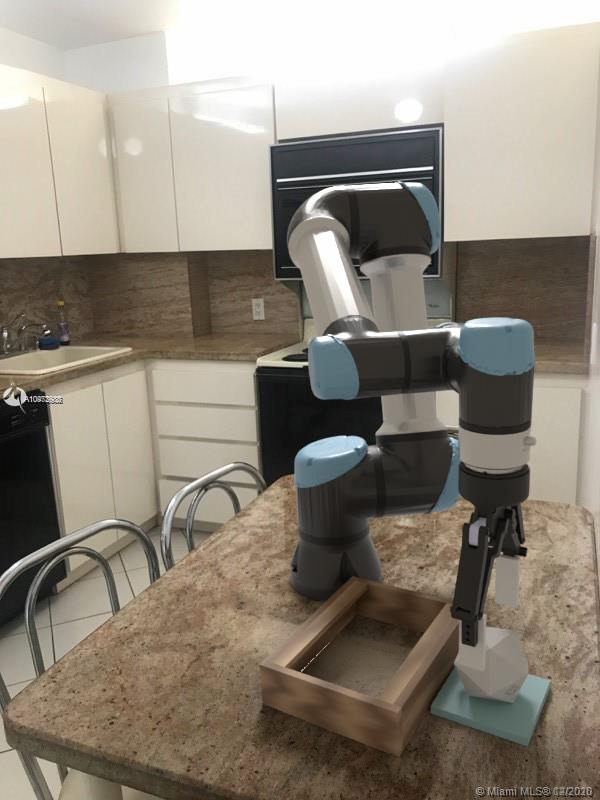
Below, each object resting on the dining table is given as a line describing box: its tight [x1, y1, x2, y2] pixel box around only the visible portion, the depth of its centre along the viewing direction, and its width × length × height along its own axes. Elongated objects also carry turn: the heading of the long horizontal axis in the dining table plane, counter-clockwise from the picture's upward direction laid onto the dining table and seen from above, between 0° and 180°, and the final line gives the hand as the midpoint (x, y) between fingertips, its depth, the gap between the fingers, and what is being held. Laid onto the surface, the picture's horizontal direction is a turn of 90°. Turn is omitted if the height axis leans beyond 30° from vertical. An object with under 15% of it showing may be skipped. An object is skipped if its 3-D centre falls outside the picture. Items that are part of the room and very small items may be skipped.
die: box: [454, 626, 529, 703], centre depth 78 cm, size 8×9×10 cm
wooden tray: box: [258, 576, 459, 758], centre depth 85 cm, size 18×24×6 cm
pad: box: [430, 667, 552, 747], centre depth 79 cm, size 11×11×1 cm
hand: (490, 633), depth 77 cm, fingers open, 13 cm apart
